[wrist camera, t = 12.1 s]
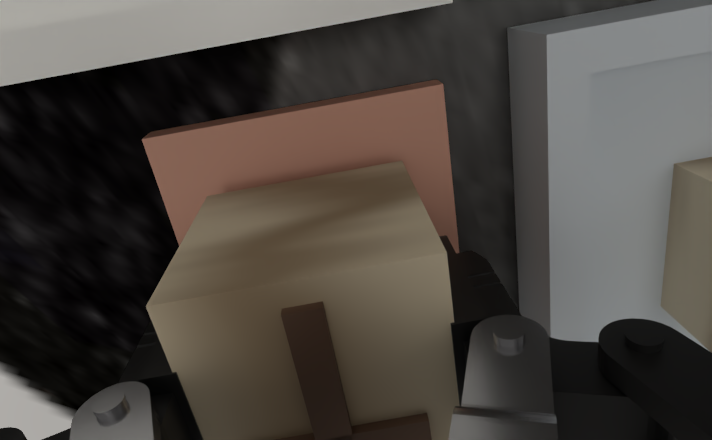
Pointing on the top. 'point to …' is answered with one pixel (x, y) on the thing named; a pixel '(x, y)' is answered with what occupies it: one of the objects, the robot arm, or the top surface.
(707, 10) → the blue tray
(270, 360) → the letter cube
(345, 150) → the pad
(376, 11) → the white tray
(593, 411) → the robot arm
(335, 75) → the top surface
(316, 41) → the top surface
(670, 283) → the plain cube
